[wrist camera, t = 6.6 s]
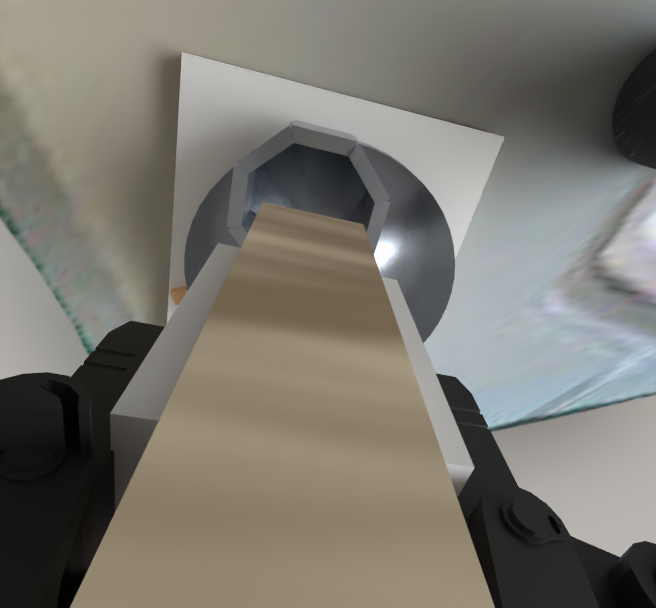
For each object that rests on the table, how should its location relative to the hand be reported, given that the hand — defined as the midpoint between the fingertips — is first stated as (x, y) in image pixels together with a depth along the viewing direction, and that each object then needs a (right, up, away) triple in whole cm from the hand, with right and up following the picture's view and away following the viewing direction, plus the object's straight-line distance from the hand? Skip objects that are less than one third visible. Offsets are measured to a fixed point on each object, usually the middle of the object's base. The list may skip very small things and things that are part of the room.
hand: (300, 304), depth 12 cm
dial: (0, +2, +14) cm, 14 cm away
